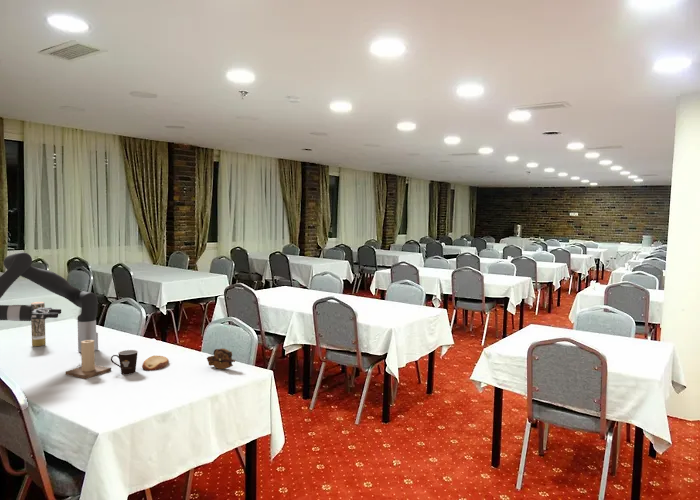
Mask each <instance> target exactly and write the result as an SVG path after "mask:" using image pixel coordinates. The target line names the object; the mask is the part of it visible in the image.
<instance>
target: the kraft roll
mask: <svg viewBox="0 0 700 500" xmlns="http://www.w3.org/2000/svg"><path fill="white" fill-rule="evenodd" d="M80 353H81V355H80V356H81V367H82V371H85V372H86V371H92V370H94V369H95V365H96V362H95V361H96V360H95V357H96V356H95V351H94V340H85V341H82V342H81V352H80Z"/></svg>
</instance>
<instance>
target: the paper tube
mask: <svg viewBox="0 0 700 500" xmlns="http://www.w3.org/2000/svg"><path fill="white" fill-rule="evenodd" d="M30 305H32V306H33V309H37V308H46V305H45V301H33V302H30ZM41 317H42V316H41ZM30 323H31V324H30V325H31V345H32V346H33V347H41V346H45V345H46V344H47V343H46V342H47V341H46V319H32V320H31V322H30Z"/></svg>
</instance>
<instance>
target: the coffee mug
mask: <svg viewBox="0 0 700 500" xmlns="http://www.w3.org/2000/svg"><path fill="white" fill-rule="evenodd" d="M138 353H139V351H138V350H135V349H128V350H126V349H125V350H121V351H119V352H118V354H113V355H112V356H111V357H110V361H111V363H113V364H114V365H115V366H117V367H119V368H120V373H121V375H132V374H135V373H136V372H137V362H138ZM113 357H117V358H118V360H119V364H117V363H116V362H115V361H114V360H113Z"/></svg>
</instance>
